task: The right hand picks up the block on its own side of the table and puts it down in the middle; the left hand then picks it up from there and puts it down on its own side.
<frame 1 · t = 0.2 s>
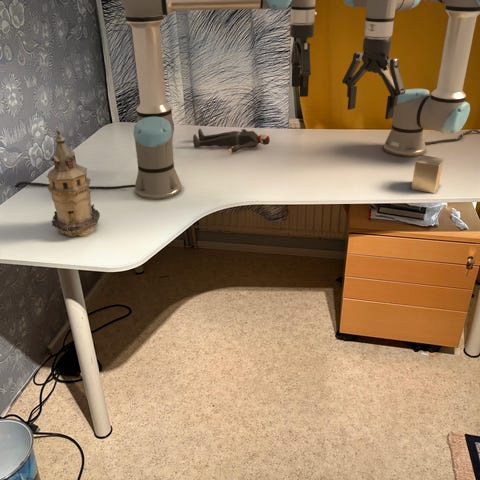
left hand: (299, 91, 180), 28 cm above the table, tool pointing down, fingers open, 13 cm apart
right hand: (369, 113, 158), 27 cm above the table, tool pointing down, fingers open, 13 cm apart
block: (425, 187, 178), on the table
miniature building: (78, 229, 156), on the table
toy: (232, 146, 215), on the table
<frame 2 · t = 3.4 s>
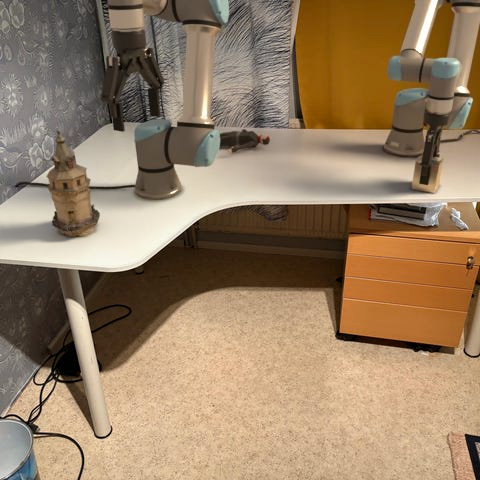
left hand: (138, 122, 129), 35 cm above the table, tool pointing down, fingers open, 13 cm apart
right hand: (426, 179, 177), 3 cm above the table, tool pointing down, fingers closed on block, 7 cm apart
block: (425, 187, 178), on the table, touching right hand
everything else where it was.
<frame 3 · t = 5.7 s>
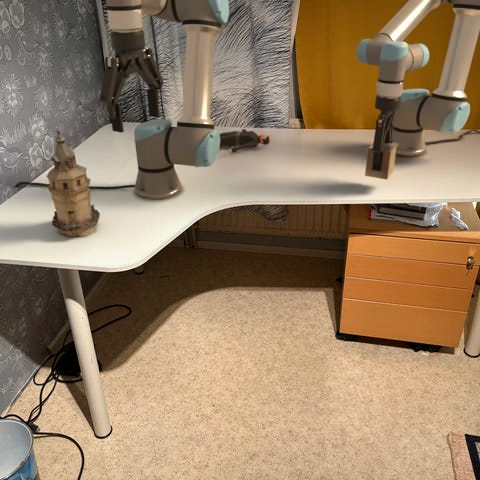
left hand: (137, 123, 129), 34 cm above the table, tool pointing down, fingers open, 13 cm apart
right hand: (379, 166, 174), 8 cm above the table, tool pointing down, fingers closed on block, 7 cm apart
block: (379, 173, 176), point 5 cm above the table, touching right hand
everything else where it was.
when the right hand's fingers open (4 cm above the table, at t = 8.2 s): block drops 1 cm, on the table.
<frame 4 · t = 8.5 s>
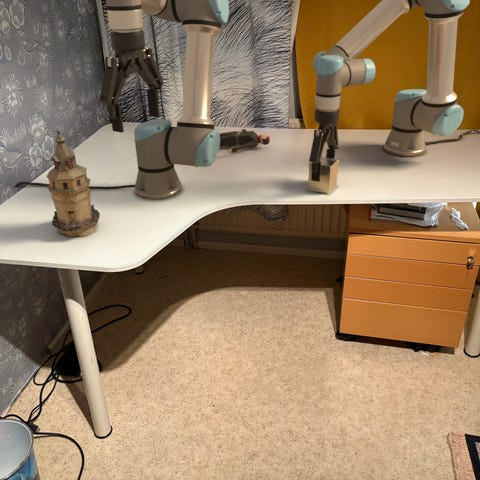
left hand: (137, 123, 129), 34 cm above the table, tool pointing down, fingers open, 13 cm apart
right hand: (322, 174, 176), 5 cm above the table, tool pointing down, fingers open, 11 cm apart
block: (322, 188, 179), on the table
everything else where it was.
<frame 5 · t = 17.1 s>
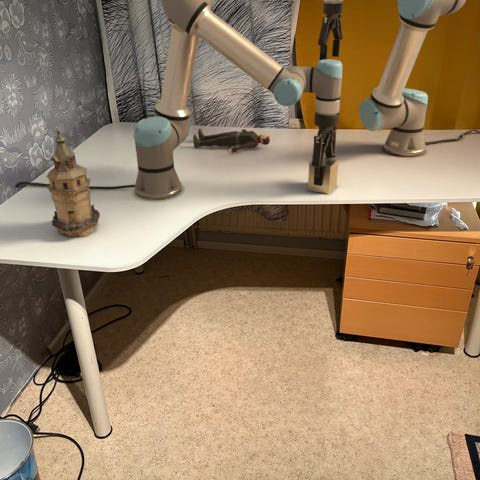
left hand: (322, 180, 177), 3 cm above the table, tool pointing down, fingers closed on block, 7 cm apart
right hand: (329, 59, 217), 30 cm above the table, tool pointing down, fingers open, 13 cm apart
block: (322, 188, 179), on the table, touching left hand
everything else where it was.
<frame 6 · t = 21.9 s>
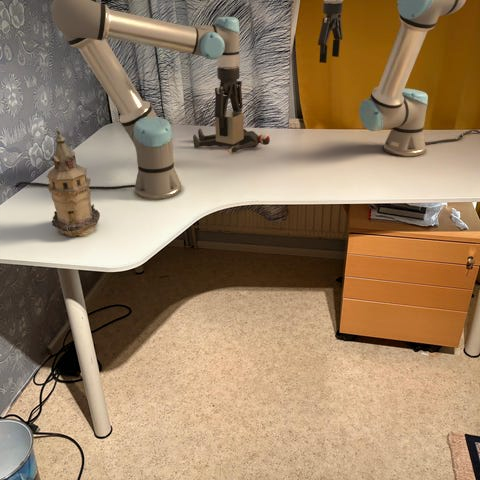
left hand: (229, 132, 191), 12 cm above the table, tool pointing down, fingers closed on block, 7 cm apart
right hand: (329, 59, 217), 30 cm above the table, tool pointing down, fingers open, 13 cm apart
block: (229, 140, 193), point 10 cm above the table, touching left hand
everything else where it was.
when the left hand's fingers open (4 cm above the table, at t = 26.8 s): block drops 1 cm, on the table.
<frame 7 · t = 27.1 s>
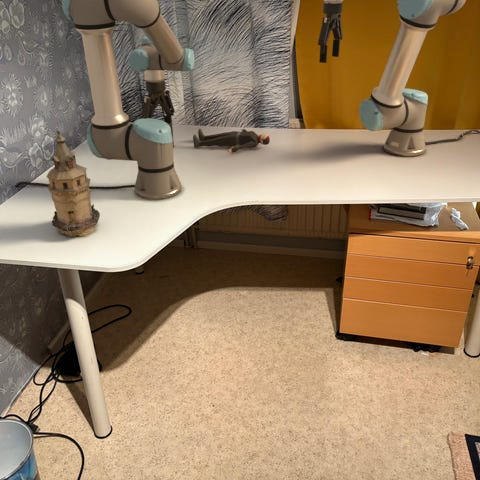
left hand: (160, 136, 213), 5 cm above the table, tool pointing down, fingers open, 11 cm apart
right hand: (329, 59, 217), 30 cm above the table, tool pointing down, fingers open, 13 cm apart
block: (161, 147, 215), on the table
everything else where it was.
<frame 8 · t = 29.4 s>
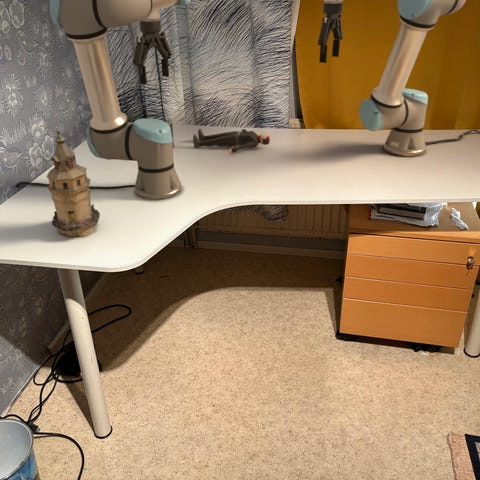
left hand: (155, 80, 202), 27 cm above the table, tool pointing down, fingers open, 13 cm apart
right hand: (329, 59, 217), 30 cm above the table, tool pointing down, fingers open, 13 cm apart
nothing on the table moved.
at the end: block inside the target area (0.1 cm from its centre), on the table; block tilted 0°; the two hands never held the block at the same time; the left hand is holding nothing; the right hand is holding nothing; block at rest at the end (0.0 cm/s) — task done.
